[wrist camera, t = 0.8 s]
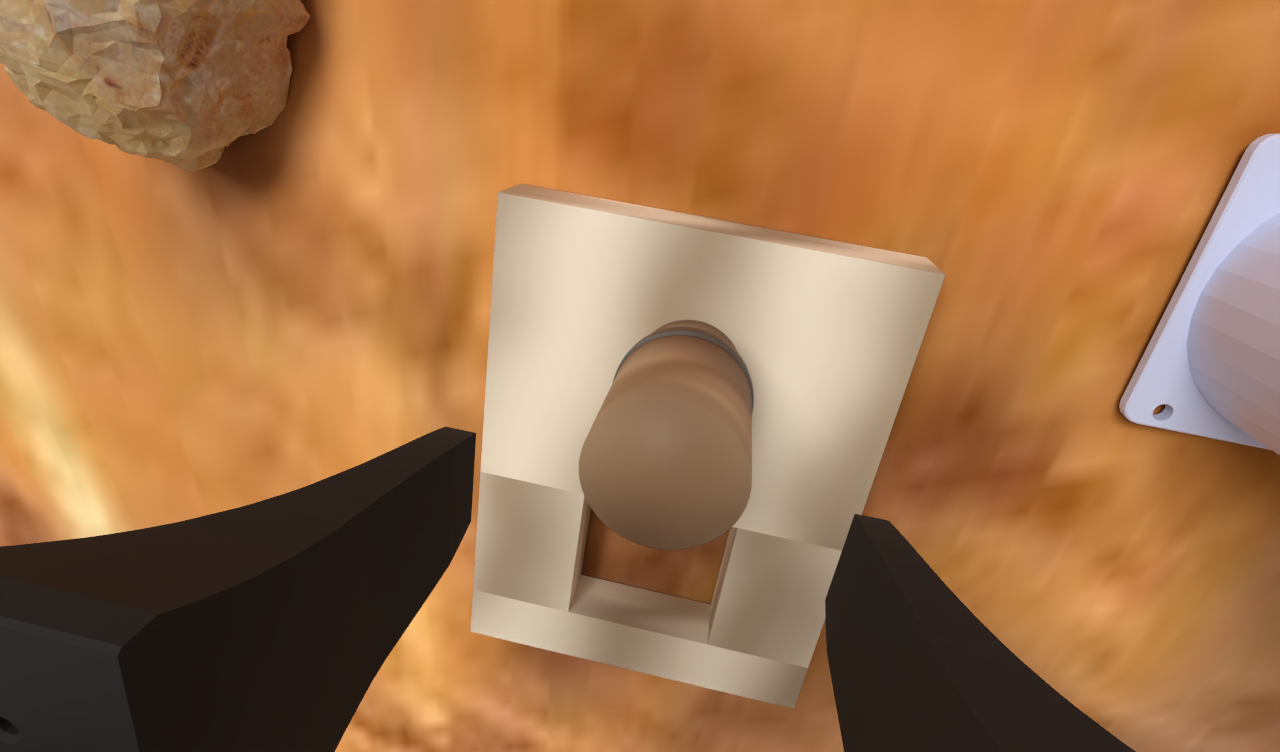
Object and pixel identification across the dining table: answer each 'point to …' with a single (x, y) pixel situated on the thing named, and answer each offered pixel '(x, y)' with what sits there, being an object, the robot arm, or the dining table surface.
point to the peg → (673, 440)
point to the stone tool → (154, 69)
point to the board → (781, 425)
